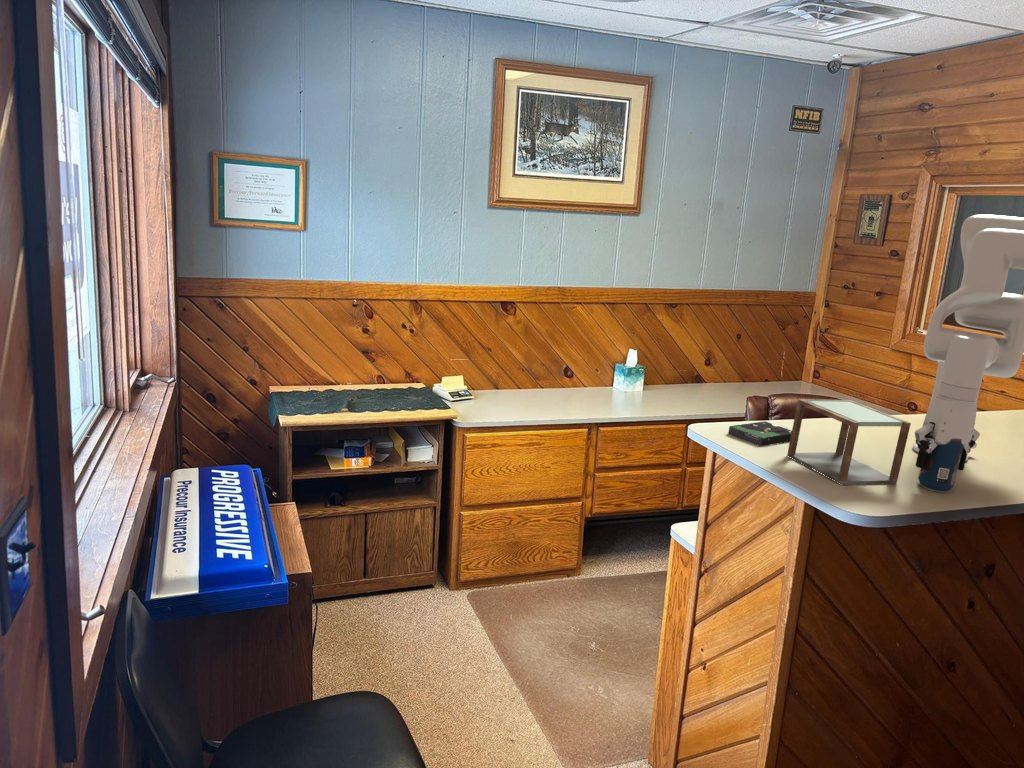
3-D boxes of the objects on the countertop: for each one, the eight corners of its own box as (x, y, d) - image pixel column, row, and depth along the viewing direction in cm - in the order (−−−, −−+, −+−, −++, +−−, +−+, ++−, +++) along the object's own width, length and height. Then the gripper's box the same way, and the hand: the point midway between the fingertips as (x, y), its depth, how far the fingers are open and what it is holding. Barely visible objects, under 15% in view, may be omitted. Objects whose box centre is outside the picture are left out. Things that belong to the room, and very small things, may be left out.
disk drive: (762, 430, 202) (726, 435, 193) (764, 420, 201) (728, 425, 193) (796, 442, 194) (760, 448, 185) (798, 432, 193) (763, 437, 184)
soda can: (913, 479, 172) (925, 429, 169) (947, 485, 170) (960, 434, 167) (921, 489, 165) (933, 437, 162) (956, 495, 164) (969, 443, 161)
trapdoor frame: (787, 456, 180) (798, 399, 176) (838, 455, 184) (850, 400, 181) (841, 485, 163) (854, 422, 160) (896, 483, 168) (910, 423, 164)
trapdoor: (807, 405, 176) (808, 401, 175) (849, 405, 179) (849, 401, 179) (857, 426, 161) (858, 421, 161) (901, 426, 165) (902, 422, 165)
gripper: (972, 389, 169) (954, 462, 173) (912, 387, 163) (895, 462, 167) (1003, 398, 162) (983, 474, 166) (941, 396, 156) (922, 474, 160)
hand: (939, 468), depth 166 cm, fingers open, 9 cm apart
